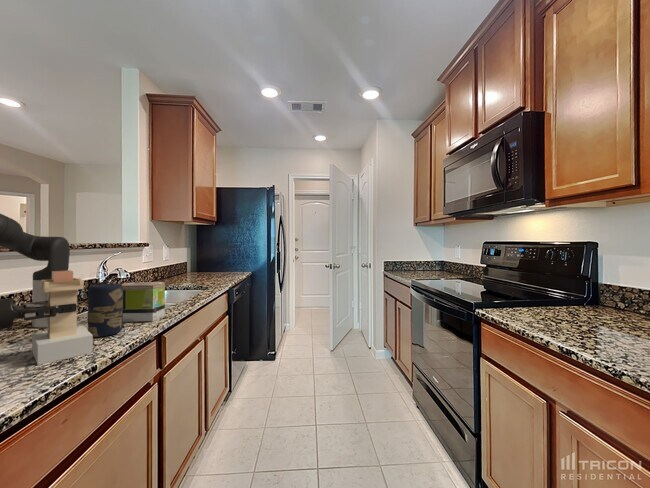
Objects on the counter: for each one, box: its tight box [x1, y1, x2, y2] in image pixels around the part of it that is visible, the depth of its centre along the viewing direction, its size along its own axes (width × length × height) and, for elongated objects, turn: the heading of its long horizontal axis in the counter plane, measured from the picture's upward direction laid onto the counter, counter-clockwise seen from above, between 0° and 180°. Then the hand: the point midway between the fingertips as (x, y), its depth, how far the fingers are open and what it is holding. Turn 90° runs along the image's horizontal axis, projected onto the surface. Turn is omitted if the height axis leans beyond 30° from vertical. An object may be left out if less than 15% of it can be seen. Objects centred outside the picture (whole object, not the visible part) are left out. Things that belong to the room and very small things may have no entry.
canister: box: [87, 281, 124, 338], centre depth 98 cm, size 10×10×18 cm
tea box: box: [121, 281, 166, 323], centre depth 117 cm, size 15×10×15 cm, turn 93°
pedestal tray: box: [41, 277, 85, 339], centre depth 81 cm, size 8×8×16 cm
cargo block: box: [52, 269, 74, 282], centre depth 81 cm, size 4×4×4 cm
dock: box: [31, 325, 94, 366], centre depth 81 cm, size 14×11×5 cm
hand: (73, 305), depth 83 cm, fingers open, 6 cm apart
